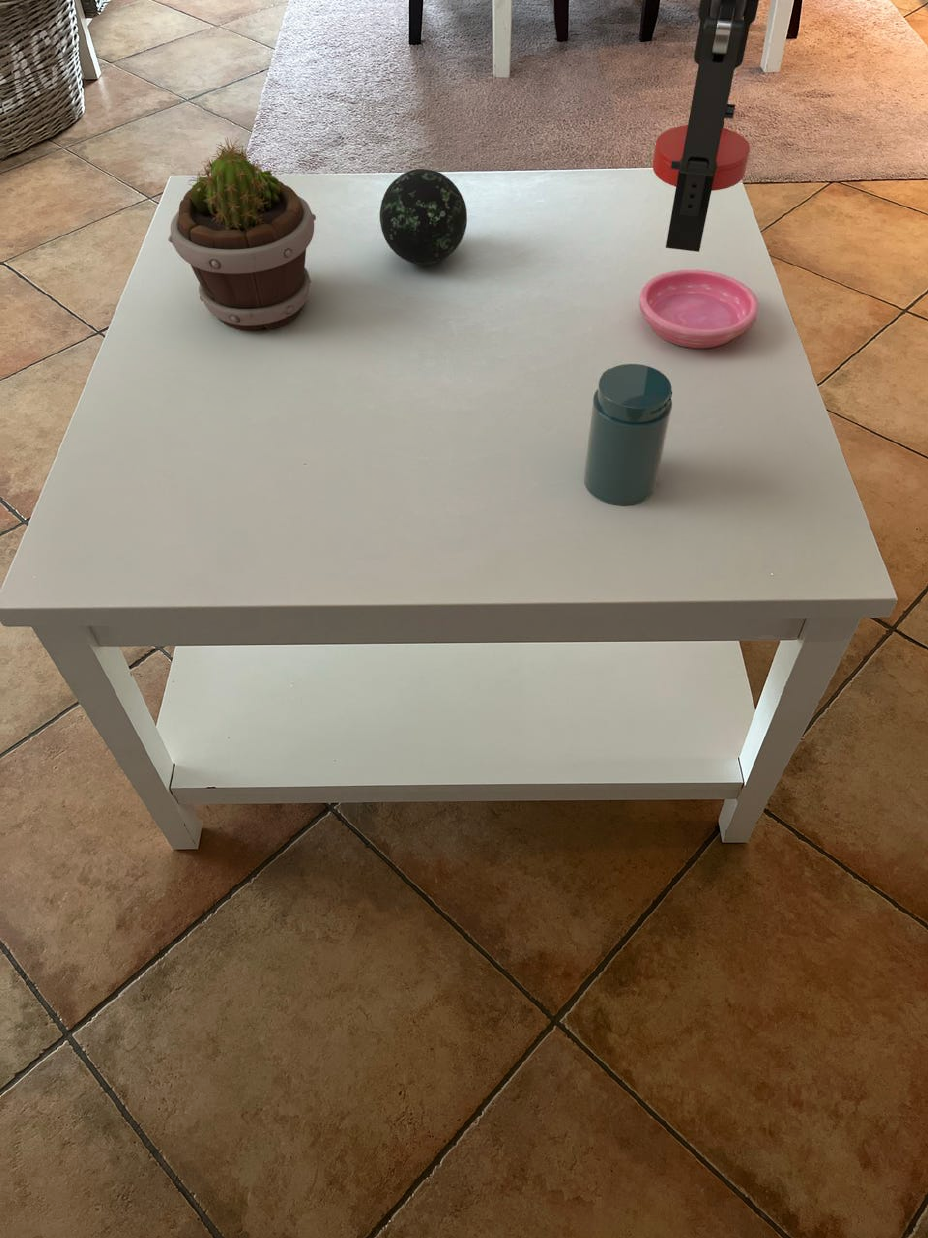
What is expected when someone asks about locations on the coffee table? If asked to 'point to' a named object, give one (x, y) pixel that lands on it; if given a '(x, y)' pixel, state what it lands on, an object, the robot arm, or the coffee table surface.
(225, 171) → the flowerpot
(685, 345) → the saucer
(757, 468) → the coffee table surface
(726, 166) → the jam lid
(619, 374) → the lidded canister
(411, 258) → the decorative stone
